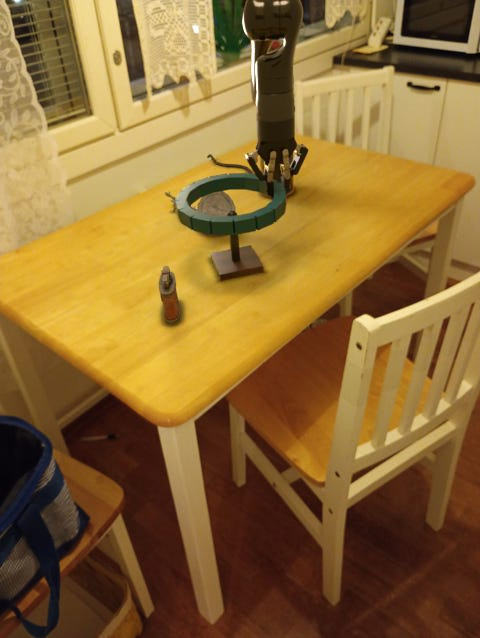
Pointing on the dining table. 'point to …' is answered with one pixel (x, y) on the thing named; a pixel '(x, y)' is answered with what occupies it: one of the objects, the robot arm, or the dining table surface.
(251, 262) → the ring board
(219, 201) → the canned food
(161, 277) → the lighter
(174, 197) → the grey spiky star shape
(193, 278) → the dining table surface
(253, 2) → the robot arm
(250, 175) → the ring
